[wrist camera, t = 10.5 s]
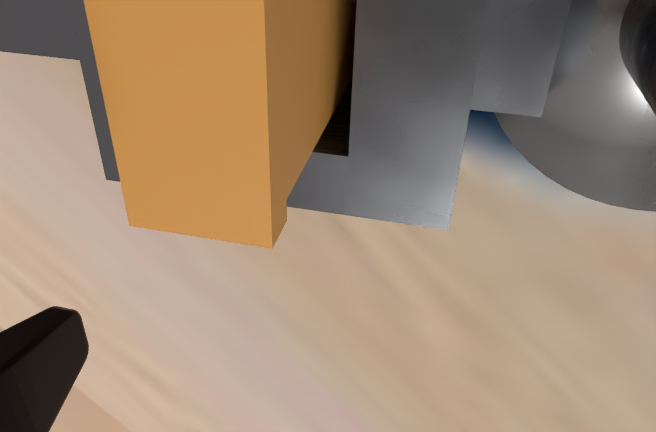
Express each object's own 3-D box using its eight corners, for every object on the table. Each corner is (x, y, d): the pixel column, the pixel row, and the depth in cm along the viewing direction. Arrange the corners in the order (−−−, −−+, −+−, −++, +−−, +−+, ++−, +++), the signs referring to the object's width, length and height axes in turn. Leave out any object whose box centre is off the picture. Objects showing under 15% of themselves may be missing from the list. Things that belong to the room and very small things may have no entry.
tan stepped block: (368, -135, 15) (260, -110, 8) (355, 84, 18) (272, 248, 11) (259, -140, 15) (59, -120, 8) (266, 74, 19) (129, 225, 11)
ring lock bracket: (1108, -254, 11) (1601, -327, 6) (820, 214, 17) (954, 363, 12) (-109, -262, 16) (-374, -307, 11) (6, 109, 22) (-131, 187, 17)
